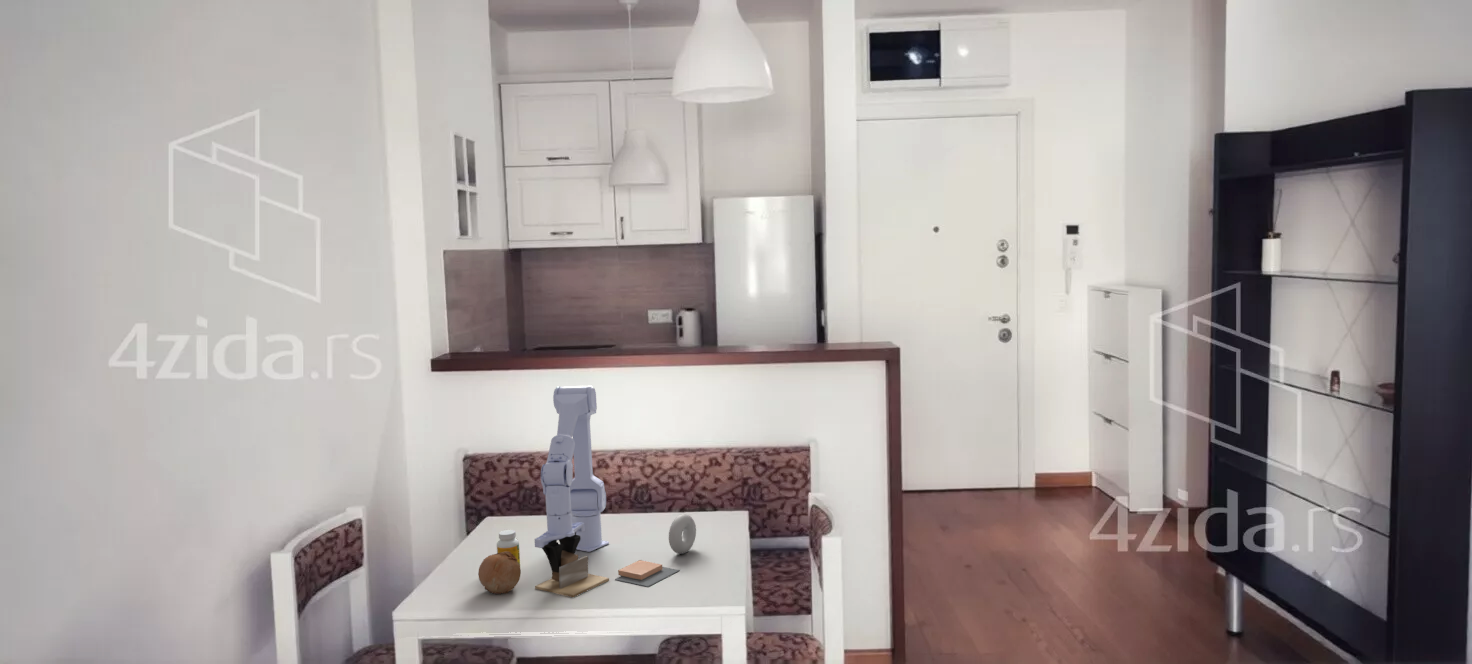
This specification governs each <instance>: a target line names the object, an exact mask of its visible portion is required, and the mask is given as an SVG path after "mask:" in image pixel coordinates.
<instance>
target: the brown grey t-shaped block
mask: <svg viewBox="0 0 1472 664" xmlns="http://www.w3.org/2000/svg"><path fill="white" fill-rule="evenodd" d="M588 574H589V556H588V555H585V556H582V557H580V558H579V554H576V553H575V554H573V553H570V552H567V551H563V550H562V553H561V567H559V573H557V572H553V571H552V570H551V579H553V580H556V581H559V588H560V589H562V588H564V587H566V586H568V585H570V584H573V583H575V582H577V581H579V580H581V579H583V578H586V577H588Z"/></svg>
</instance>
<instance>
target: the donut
mask: <svg viewBox="0 0 1472 664" xmlns="http://www.w3.org/2000/svg"><path fill="white" fill-rule="evenodd" d="M696 526H697V525H696V522H695V520H694V518H693V517H692V516H691V515H689V514H687V513H683V514H679V515H677V516H676V517H675V518H674V519H673V520H672V522H671V524H670V526H669V531H668V543H669V546H670V549H671V550H672V551H673V552H674V553H676V554H679V555H683V554H686V553H688V551H690V550H691V549H692V547H693V545H694V543H695V540H696V536H697V527H696Z"/></svg>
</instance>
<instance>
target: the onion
mask: <svg viewBox="0 0 1472 664" xmlns="http://www.w3.org/2000/svg"><path fill="white" fill-rule="evenodd" d="M517 560H518V559H517V558H515V556H514V554H512V553H511V552H508V551H506V552H505V551H504V552H500V553H497V552H496V553H494V554H490V555H488V556H487V557H485V558H484V559H483V560H482V562H481V563H480V565H479V568H478V580H479V581H480V585H482V586H483V587H484V590H485V591H487V592H488V593H490V594H491V593H492V594H495V595H502V594H505V595H506V594H508V593H509V592H511V591H513V590H514V589H515V588H516V586H517V585H518V583H519V581H520V579H521V574H522V571H521V570H522V569H521V564H520V565H519V563H518V561H517ZM501 593H502V594H501Z"/></svg>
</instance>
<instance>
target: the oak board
mask: <svg viewBox="0 0 1472 664" xmlns="http://www.w3.org/2000/svg"><path fill="white" fill-rule="evenodd" d="M609 579H610V578H609V577H606V576H602V575H601V576H600V575H597V574H592V573H588V577H586V578H583V579H581V580H579V581H577V582H575V583H573V584H570V585H568V586H566V587H564V588H562V589H560V588H559V581H556V580H553V579H552V578H550V579H547V580H546V581H542V582H541V583H539V584H536V585H535V586H534V589H535V590H541V591H545V592H549V593H552V594H557V595H560V596H561V595H562V596H566V597H568V598H569V597H570V598H573V597H574V598H576V597H577V595H578V596H580V595H582V594H584V593H585V592H588V591H590V590H592V589H595V588H596V587H598V586H600V584H601V585H603V584H604V583H607V582H609V581H610V580H609ZM602 583H603V584H602ZM587 590H588V591H587ZM583 592H584V593H583ZM581 593H582V594H581ZM579 594H580V595H579ZM575 596H576V597H575Z"/></svg>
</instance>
